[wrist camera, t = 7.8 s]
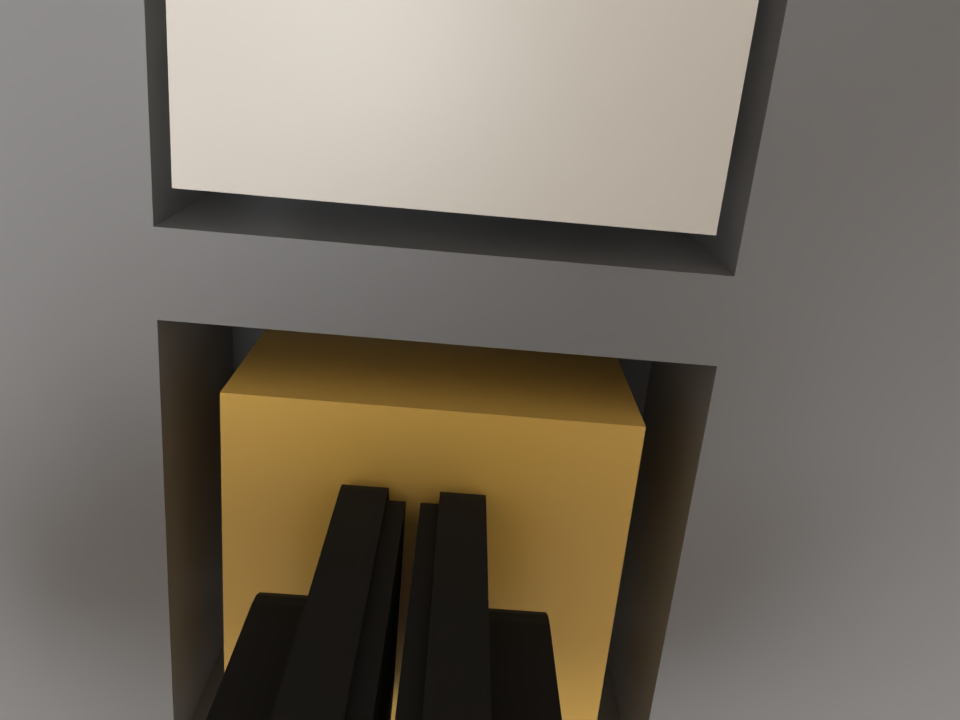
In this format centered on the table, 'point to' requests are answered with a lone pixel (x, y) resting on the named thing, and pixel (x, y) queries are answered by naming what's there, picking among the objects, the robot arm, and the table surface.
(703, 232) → the middle key
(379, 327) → the key console
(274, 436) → the amber key
